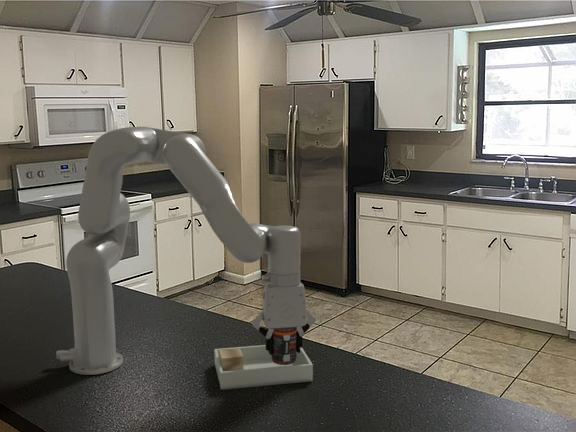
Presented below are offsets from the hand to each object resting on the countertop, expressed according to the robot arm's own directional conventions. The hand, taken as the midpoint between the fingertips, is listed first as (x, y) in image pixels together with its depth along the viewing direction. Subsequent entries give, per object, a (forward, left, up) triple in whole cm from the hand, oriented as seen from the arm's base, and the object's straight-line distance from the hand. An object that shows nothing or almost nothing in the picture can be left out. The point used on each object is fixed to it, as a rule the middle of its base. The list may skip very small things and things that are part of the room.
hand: (283, 351), depth 148 cm
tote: (-5, 0, -5) cm, 7 cm away
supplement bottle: (0, 0, -3) cm, 3 cm away
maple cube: (-13, 0, -4) cm, 13 cm away
